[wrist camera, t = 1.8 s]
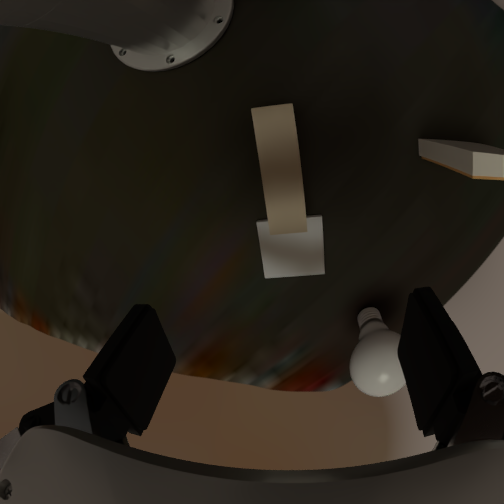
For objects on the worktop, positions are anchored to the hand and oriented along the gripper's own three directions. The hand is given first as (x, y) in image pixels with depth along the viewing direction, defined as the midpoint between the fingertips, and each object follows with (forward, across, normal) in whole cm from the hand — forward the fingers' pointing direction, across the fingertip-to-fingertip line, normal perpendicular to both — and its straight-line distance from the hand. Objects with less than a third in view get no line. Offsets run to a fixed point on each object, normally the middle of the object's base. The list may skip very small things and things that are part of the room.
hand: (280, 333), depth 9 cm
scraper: (+17, 0, 0) cm, 17 cm away
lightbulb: (+18, -8, +14) cm, 24 cm away
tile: (+17, -17, -4) cm, 25 cm away
